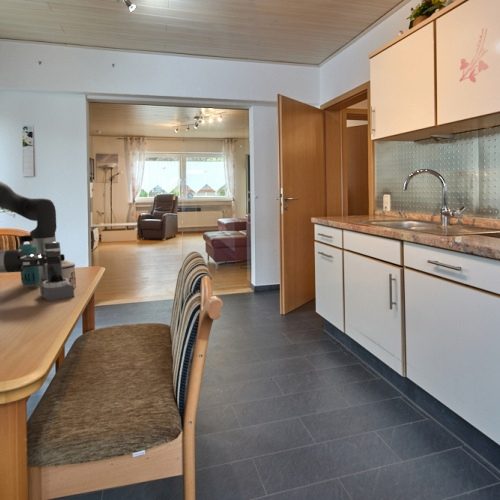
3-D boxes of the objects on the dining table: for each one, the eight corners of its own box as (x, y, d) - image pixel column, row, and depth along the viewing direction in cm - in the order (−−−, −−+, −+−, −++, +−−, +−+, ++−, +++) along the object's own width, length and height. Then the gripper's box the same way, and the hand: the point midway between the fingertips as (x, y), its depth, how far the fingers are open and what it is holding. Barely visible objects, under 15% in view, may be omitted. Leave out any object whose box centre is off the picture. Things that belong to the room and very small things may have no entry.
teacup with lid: (75, 290, 142) (72, 258, 140) (48, 292, 139) (44, 260, 138) (79, 282, 153) (76, 253, 152) (54, 285, 151) (51, 255, 149)
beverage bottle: (37, 284, 152) (31, 234, 149) (44, 287, 148) (39, 235, 145) (19, 288, 147) (12, 235, 144) (26, 290, 143) (20, 236, 140)
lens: (46, 280, 133) (42, 242, 131) (61, 278, 136) (57, 241, 134) (49, 282, 130) (46, 243, 128) (65, 280, 133) (61, 242, 131)
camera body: (40, 296, 135) (38, 280, 134) (65, 291, 140) (64, 276, 140) (47, 301, 128) (46, 285, 127) (74, 296, 133) (72, 281, 132)
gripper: (-4, 253, 122) (54, 250, 125) (14, 247, 136) (66, 244, 139) (-1, 276, 123) (57, 273, 126) (17, 268, 137) (68, 265, 140)
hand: (61, 258), depth 132 cm, fingers closed on lens, 4 cm apart
